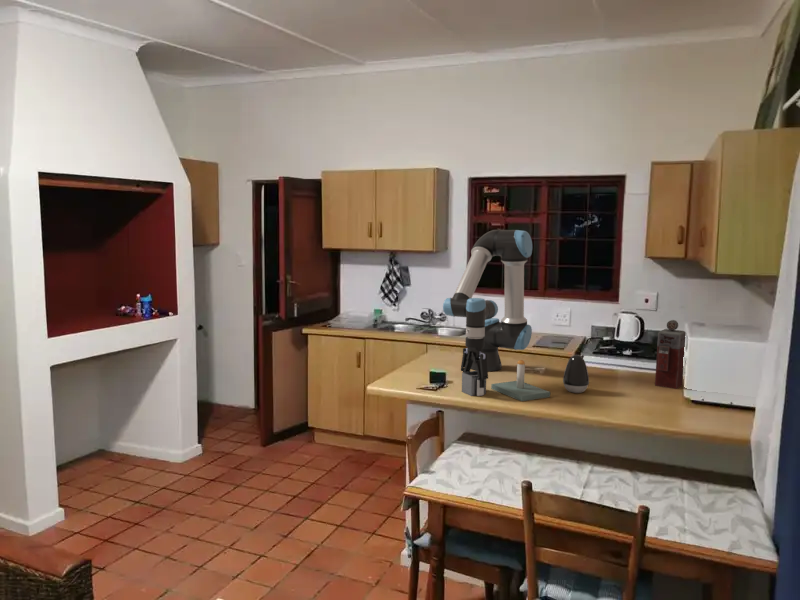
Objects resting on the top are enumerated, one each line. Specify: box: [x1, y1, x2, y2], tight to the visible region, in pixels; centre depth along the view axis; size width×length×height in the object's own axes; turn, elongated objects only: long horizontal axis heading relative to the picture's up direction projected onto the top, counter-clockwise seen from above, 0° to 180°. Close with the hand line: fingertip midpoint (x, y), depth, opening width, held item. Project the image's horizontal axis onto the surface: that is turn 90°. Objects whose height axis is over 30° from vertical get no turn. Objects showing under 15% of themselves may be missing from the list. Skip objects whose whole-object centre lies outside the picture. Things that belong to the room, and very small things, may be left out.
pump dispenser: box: [562, 354, 590, 394], centre depth 262 cm, size 10×10×15 cm
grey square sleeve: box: [461, 370, 487, 397], centre depth 259 cm, size 7×7×8 cm
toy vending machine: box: [654, 319, 687, 390], centre depth 272 cm, size 9×11×28 cm
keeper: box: [490, 359, 551, 402], centre depth 259 cm, size 20×14×14 cm
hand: (473, 392), depth 260 cm, fingers open, 9 cm apart
